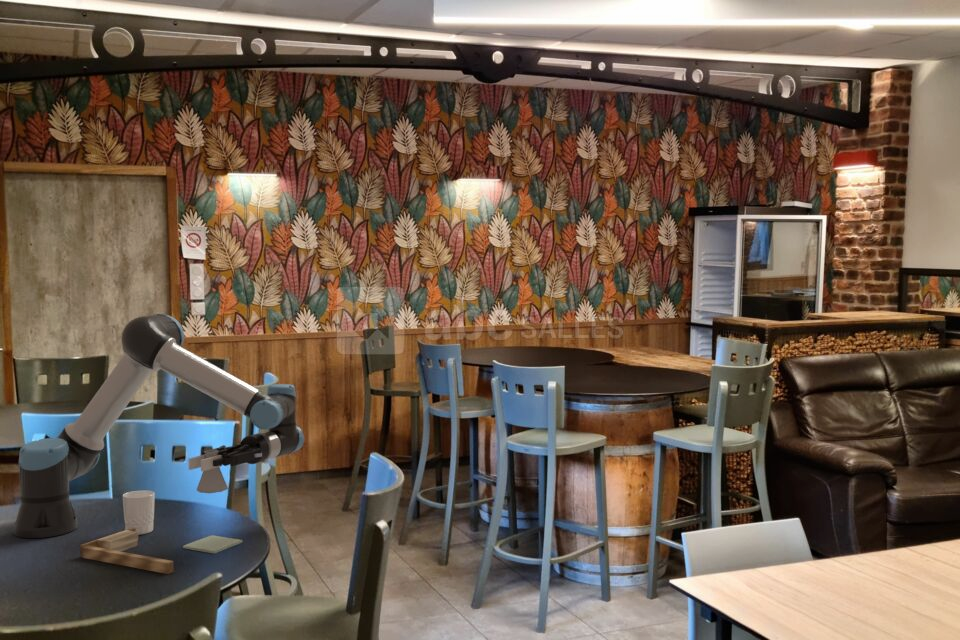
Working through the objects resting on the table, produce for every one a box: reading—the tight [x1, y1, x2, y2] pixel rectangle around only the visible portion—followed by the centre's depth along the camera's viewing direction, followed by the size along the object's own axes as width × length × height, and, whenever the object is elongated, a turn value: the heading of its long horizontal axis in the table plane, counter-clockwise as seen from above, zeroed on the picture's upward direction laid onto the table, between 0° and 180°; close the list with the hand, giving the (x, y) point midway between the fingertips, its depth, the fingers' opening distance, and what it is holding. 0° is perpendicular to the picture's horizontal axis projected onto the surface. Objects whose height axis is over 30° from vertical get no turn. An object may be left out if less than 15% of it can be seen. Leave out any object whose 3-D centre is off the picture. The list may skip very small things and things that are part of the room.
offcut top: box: [97, 529, 139, 550], centre depth 224 cm, size 4×9×2 cm, turn 155°
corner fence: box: [79, 528, 174, 575], centre depth 219 cm, size 28×16×3 cm, turn 64°
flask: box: [196, 449, 229, 494], centre depth 226 cm, size 7×7×10 cm
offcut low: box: [111, 540, 138, 552], centre depth 224 cm, size 4×9×2 cm, turn 154°
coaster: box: [182, 534, 243, 554], centre depth 228 cm, size 10×10×1 cm
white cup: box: [122, 489, 156, 536], centre depth 240 cm, size 8×8×10 cm
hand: (195, 464), depth 221 cm, fingers closed on flask, 3 cm apart
